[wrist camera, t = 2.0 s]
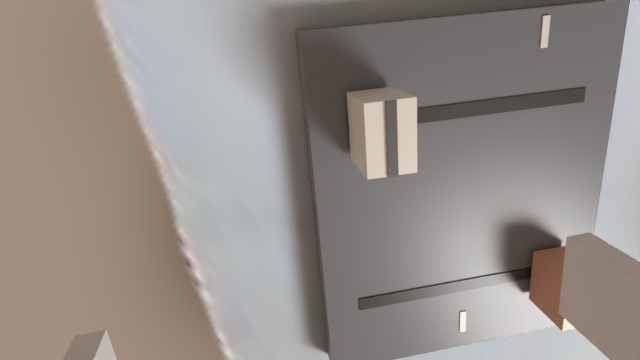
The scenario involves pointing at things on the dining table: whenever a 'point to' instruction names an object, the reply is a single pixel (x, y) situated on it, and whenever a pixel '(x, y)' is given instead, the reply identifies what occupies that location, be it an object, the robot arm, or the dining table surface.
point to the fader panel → (457, 169)
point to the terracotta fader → (548, 284)
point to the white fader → (383, 131)
